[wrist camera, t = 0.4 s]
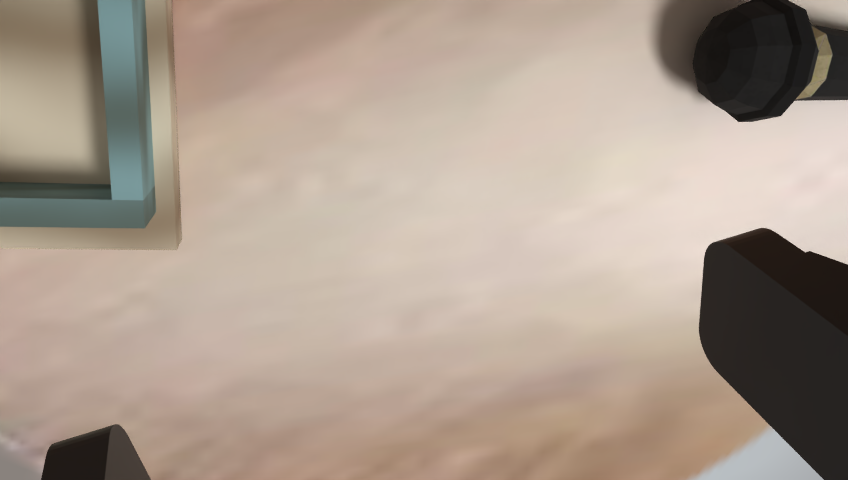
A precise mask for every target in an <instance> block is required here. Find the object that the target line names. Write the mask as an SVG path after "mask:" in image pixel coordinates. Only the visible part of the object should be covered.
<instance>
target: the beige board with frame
mask: <svg viewBox="0 0 848 480" xmlns="http://www.w3.org/2000/svg"><path fill="white" fill-rule="evenodd" d="M181 240H182V232H181V209H180V185H179V161H178V137H177V114H176V90H175V66H174V43H173V19H172V0H0V249H112V250H177V248H178V246H179V244H180V242H181Z"/></svg>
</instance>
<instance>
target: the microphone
mask: <svg viewBox="0 0 848 480" xmlns="http://www.w3.org/2000/svg"><path fill="white" fill-rule="evenodd" d="M693 69H694V73H695V77H696V82H697V86H698V91H699V92H700V93H701V94H702V95H703V96H705V97H706V98H707V99H708V100H709V101H711V102H712V103H713V104H714V105H716V106H718V107H719V108H721V109H723V110H724V111H726V112H727V113H728V114H730V115H731V116H732V117H733V118H735V119H736V120H737V121H738V122H753V121H758V120H763V119H768V118H773V117H778V116H781V115H782V114H783V113H784V112H785V111H786V109H787V108H788V107H789V106H790V105H791V104H792V103H793V102H794V101H797V100H848V31H842V30H836V29H831V28H825V27H819V26H813V25H811V24H810V22H809V18H808V15H807V11H806V10H805V9H803V8H801V7H799V6H798V5H796V4H794V3H792V2H790V1H788V0H751V1H749V2H746V3H744V4H741V5H739V6H738V7H737V8H734V9H732V10H729V11H727V12H724V13H722V14H720V15H717V16H715V17H713V19H712V20H711V22H710V23H709V25H708V26H707V28H706V29H705V31H704V32H703V34H702V35H701V37H700V38H699V40H698V42H697V45H696V49H695V54H694V59H693Z"/></svg>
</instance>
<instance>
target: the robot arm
mask: <svg viewBox="0 0 848 480" xmlns="http://www.w3.org/2000/svg"><path fill="white" fill-rule="evenodd" d="M699 335H700V340H701V344H702V347H703V350H704V352H705V354H706V356H707V358H708V360H709V362H710V363H711V365H712V366H713V367H714V369H715V370H716V371H717V372H718V373H719V374H720V375H721V376H722V377H723V378H724V379H725V380H726V381H727V382H728V383H729V384H730V385H731V386H732V387H733V388H734V389H735V390H736V391H737V392H738V393H739V394H740V395H741V396H742V397H743V398H744V399H745V400H746V401H747V403H748V404H749V405H750V406H751V407H752V408H753V409H754V410H755V411H756V412H757V413H758V414H759V415H760V416H761V417H762V418H763V419H764V420H765V421H766V422H767V423H768V424H769V425H770V426H771V427H772V428H773V429H774V430H775V431H776V432H777V433H778V434H779V435H780V436H781V437H782V438H783V439H784V440H785V441H786V442H787V443H788V444H789V445H790V446H791V447H792V448H793V449H794V450H795V451H796V452H797V453H798V454H799V455H800V456H801V457H802V458H803V459H804V460H805V461H806V462H807V463H808V464H809V465H810V466H811V467H812V468H813V469H814V470H815V471H816V472H817V473H818V474H819V475H820V476H821V477H822V478H823V479H824V480H848V265H847V264H844V263H842V262H839V261H836V260H833V259H830V258H827V257H825V256H822V255H819V254H816V253H813V252H811V251H809V252H806V253H805V252H804V251H802V250H801V249H799V248H798V247H796V246H795V245H793V244H792V243H790V242H789V241H787V240H786V239H784V238H783V237H781V236H780V235H779V234H777V233H776V232H774V231H772V230H770V229H767V228H759V229H756V230H752V231H749V232H746V233H743V234H739V235H736V236H733V237H730V238H726V239H723V240H720V241H717V242H714V243H712V244H710V245H709V246H708V248H707V250H706V252H705V257H704V268H703V281H702V294H701V308H700V321H699ZM41 480H151V479H150V477H149V475H148V473H147V471H146V469H145V467H144V466H143V464H142V462H141V460H140V458H139V456H138V454H137V452H136V450H135V448H134V446H133V444H132V443H131V441H130V439H129V437H128V435H127V433H126V432H125V430H124V429H123V428H122V427H121V426H120V425H118V424H115V425H112V426H108V427H105V428H102V429H99V430H95V431H92V432H89V433H86V434H82V435H79V436H76V437H73V438H69V439H66V440H63V441H60V442H56V443H54V444H52V445H51V446H50V447H49V449H48V451H47V455H46V459H45V464H44V469H43V473H42V478H41Z"/></svg>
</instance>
